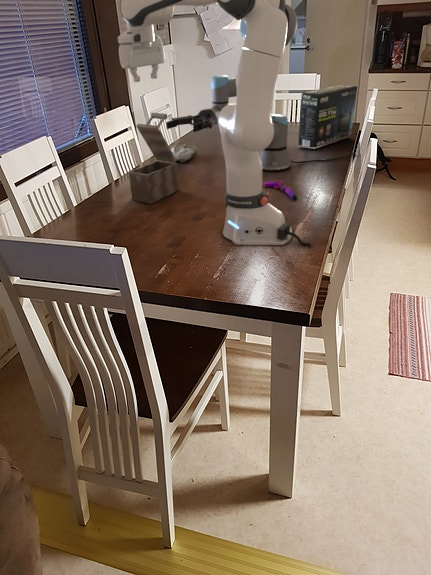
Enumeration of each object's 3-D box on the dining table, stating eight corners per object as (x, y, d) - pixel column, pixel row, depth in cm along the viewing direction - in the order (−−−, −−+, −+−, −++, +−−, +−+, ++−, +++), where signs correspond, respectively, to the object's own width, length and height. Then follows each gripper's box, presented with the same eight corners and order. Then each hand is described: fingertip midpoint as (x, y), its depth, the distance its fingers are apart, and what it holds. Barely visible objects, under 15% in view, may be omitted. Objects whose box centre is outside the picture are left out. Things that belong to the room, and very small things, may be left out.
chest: (150, 203, 176) (147, 175, 170) (132, 199, 181) (128, 171, 175) (178, 190, 188) (176, 163, 182) (159, 186, 193) (157, 160, 187)
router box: (314, 151, 231) (318, 94, 217) (296, 148, 237) (299, 92, 224) (352, 138, 251) (358, 85, 238) (335, 135, 258) (340, 83, 245)
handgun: (263, 185, 189) (263, 181, 188) (281, 183, 190) (281, 179, 189) (278, 202, 172) (278, 197, 171) (298, 200, 173) (298, 195, 172)
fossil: (184, 156, 217) (163, 136, 220) (174, 174, 223) (154, 154, 227) (205, 153, 231) (186, 134, 234) (195, 171, 237) (176, 152, 240)
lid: (155, 128, 167) (167, 110, 170) (136, 126, 172) (148, 108, 175) (175, 162, 182) (185, 145, 185) (156, 159, 186) (167, 143, 189)
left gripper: (153, 34, 165) (157, 76, 172) (113, 37, 151) (119, 83, 158) (167, 34, 162) (170, 76, 169) (128, 37, 148) (133, 84, 155)
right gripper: (233, 128, 198) (206, 139, 183) (186, 123, 210) (157, 133, 195) (233, 110, 194) (205, 119, 179) (185, 106, 206) (155, 115, 191)
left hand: (145, 80), depth 164 cm, fingers open, 8 cm apart
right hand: (180, 127), depth 187 cm, fingers open, 13 cm apart
